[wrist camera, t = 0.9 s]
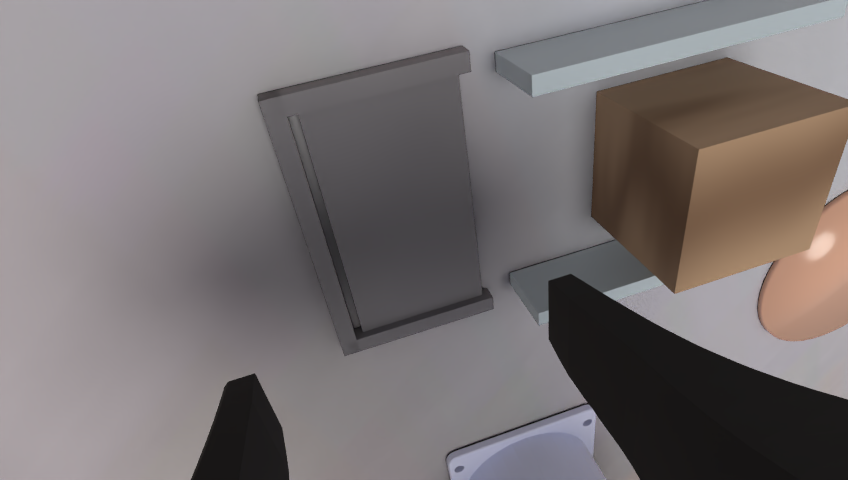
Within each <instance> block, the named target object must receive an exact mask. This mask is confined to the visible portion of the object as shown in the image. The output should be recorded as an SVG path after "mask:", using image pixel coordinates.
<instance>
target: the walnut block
mask: <svg viewBox="0 0 848 480" xmlns="http://www.w3.org/2000/svg"><path fill="white" fill-rule="evenodd" d="M847 139H848V99H845V98H843V97H840V96H837V95H834V94H831V93H828V92H825V91H822V90H819V89H817V88H814V87H811V86H808V85H805V84H802V83H799V82H796V81H793V80H791V79H788V78H785V77H782V76H779V75H776V74H773V73H770V72H768V71H765V70H762V69H759V68H756V67H753V66H750V65H747V64H744V63H742V62H739V61H736V60H733V59H730V58H723V59H719V60H715V61H712V62H708V63H704V64H700V65H696V66H692V67H689V68H685V69H681V70H677V71H673V72H669V73H666V74H662V75H658V76H654V77H650V78H646V79H643V80H639V81H635V82H631V83H627V84H623V85H620V86H616V87H612V88H608V89H604V90H600V91H597V96H596V119H595V142H594V165H593V187H592V210H591V217H592V218H594V219H595V220H596V221H597V222H598V223H599V224H600V225H601V226H602V227H603V228H604V229H605V230H606V231H608V232H609V233H610V234H611V235H612V236H613V237H614V238H615V239H616V240H617V241H618V242H619V243H620V244H621V245H623V246H624V247H625V248H626V249H627V250H628V251H629V252H630V253H631V254H632V255H633V256H634V257H635V258H637V259H638V260H639V261H640V262H641V263H642V264H643V265H644V266H645V267H646V268H647V269H648V270H649V271H650V272H652V273H653V274H654V275H655V276H656V277H657V278H658V279H659V280H660V281H661V282H662V283H663V284H664V285H666V286H667V287H668V288H669V289H670V290H671V291H672V292H673V293H674V294H676V293H679V292H682V291H685V290H688V289H691V288H694V287H697V286H700V285H703V284H706V283H709V282H712V281H715V280H718V279H721V278H724V277H727V276H730V275H733V274H736V273H739V272H742V271H745V270H748V269H751V268H754V267H757V266H760V265H763V264H766V263H769V262H772V261H775V260H778V259H781V258H784V257H788V256H791V255H794V254H797V253H800V252H803V251H806V250H809V249H810V246H811V244H812V241H813V238H814V235H815V232H816V229H817V226H818V223H819V220H820V217H821V214H822V211H823V209H824V206H825V203H826V200H827V197H828V194H829V191H830V188H831V185H832V182H833V179H834V177H835V174H836V171H837V168H838V165H839V162H840V159H841V156H842V153H843V150H844V147H845V144H846V142H847Z"/></svg>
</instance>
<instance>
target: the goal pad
mask: <svg viewBox="0 0 848 480" xmlns="http://www.w3.org/2000/svg"><path fill="white" fill-rule="evenodd" d="M758 314H759V319H760V321H761V324H762V325H763V327H764V328H765V329H766V330H767V331H768V332H770V333H771V334H772V335H773V336H774V337H777V338H779V339H781V340H786V341H803V340H808V339H813V338H816V337H819V336H822V335H825V334H827V333H830V332H832V331H834V330H836V329H838V328H840V327H842V326H844V325H846V324H847V323H848V191H847V192H845V193H843V194H842V195H840V196H839V197H837V198H836V199H834V200H833V201H831V202H830V203H829V204H827V205H826V206H825V207H824V209H823V211H822V214H821V217H820V220H819V223H818V226H817V229H816V232H815V235H814V238H813V241H812V244H811V246H810V249H809V250H806V251H803V252H800V253H797V254H794V255H791V256H788V257H784V258H781V259H778V260H775V261H774V263H773V265H772V266H771V268H770V270H769V272H768V274H767V276H766V278H765V280H764V283H763V286H762V288H761V291H760V296H759V300H758Z"/></svg>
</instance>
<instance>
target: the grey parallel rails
mask: <svg viewBox="0 0 848 480" xmlns="http://www.w3.org/2000/svg"><path fill="white" fill-rule="evenodd" d="M847 3H848V0H708V1H704V2H699V3H695V4H691V5H687V6H683V7H679V8H675V9H671V10H666V11H662V12H658V13H654V14H650V15H646V16H642V17H637V18H633V19H629V20H625V21H621V22H617V23H613V24H608V25H604V26H600V27H596V28H592V29H588V30H584V31H580V32H575V33H571V34H567V35H563V36H559V37H555V38H551V39H546V40H542V41H538V42H534V43H530V44H526V45H522V46H517V47H513V48H509V49H505V50H501V51H497V52H495V60H496V72H497V73H499V74H500V75H502V76H503V77H504V78H506V79H507V80H509V81H510V82H512V83H513V84H514V85H516V86H517V87H519V88H520V89H521V90H523V91H524V92H526V93H527V94H528V95H530V96H531V97H536V96H539V95H543V94H547V93H551V92H555V91H559V90H563V89H567V88H570V87H574V86H578V85H582V84H586V83H590V82H594V81H597V80H601V79H605V78H609V77H613V76H617V75H621V74H625V73H628V72H632V71H636V70H640V69H644V68H648V67H652V66H656V65H659V64H663V63H667V62H671V61H675V60H679V59H683V58H687V57H690V56H694V55H698V54H702V53H706V52H710V51H714V50H718V49H721V48H725V47H729V46H733V45H737V44H741V43H745V42H749V41H752V40H756V39H760V38H764V37H768V36H772V35H776V34H780V33H783V32H787V31H791V30H795V29H799V28H803V27H807V26H811V25H814V24H818V23H822V22H826V21H830V20H834V19H838V18H842V17H844V13H845V10H846V7H847ZM568 274H572V275H574V276H576V277H577V278H579V279H581V280H582V281H584V282H585V283H587V284H589V285H590V286H592V287H594V288H595V289H597V290H598V291H600V292H602V293H603V294H605V295H607V296H608V297H610V298H612V299H613V300H615V301H616V300H619V299H622V298H625V297H628V296H631V295H634V294H637V293H640V292H643V291H646V290H649V289H652V288H655V287H658V286H661V285H664V284H663V283H662V282H661V281H660V280H659V279H658V278H657V277H656V276H655V275H654V274H653V273H652V272H650V271H649V270H648V269H647V268H646V267H645V266H644V265H643V264H642V263H641V262H640V261H639V260H638V259H637V258H635V257H634V256H633V255H632V254H631V253H630V252H629V251H628V250H627V249H626V248H625V247H624V246H623V245H621V244H620V243H619V242H618V241H617V240H615V241H611V242H608V243H605V244H602V245H599V246H595V247H592V248H589V249H586V250H582V251H579V252H576V253H573V254H569V255H566V256H563V257H560V258H556V259H553V260H550V261H547V262H543V263H540V264H537V265H534V266H531V267H527V268H524V269H521V270H518V271H514V272H511V273H510V282H511V286H512V287H513V289H514V290H515V292H516V293H517V294H518V296H519V297H520V299H521V300H522V302H523V303H524V305H525V306H526V307H527V309H528V310H529V312H530V313H531V315H532V316H533V318H534V319H535V321H536V322H537V323H538V325H542V324H545V323H548V322H549V310H548V281H549V280H552V279H555V278H559V277H562V276H565V275H568Z"/></svg>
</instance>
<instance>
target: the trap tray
mask: <svg viewBox="0 0 848 480" xmlns="http://www.w3.org/2000/svg"><path fill="white" fill-rule="evenodd" d="M468 72H471V64H470V53H469V50H467V49H466V48H465V47H463V46H459V47H455V48H451V49H447V50H443V51H438V52H434V53H430V54H426V55H422V56H417V57H413V58H409V59H405V60H401V61H396V62H392V63H388V64H384V65H380V66H375V67H371V68H367V69H363V70H358V71H354V72H350V73H346V74H342V75H337V76H333V77H329V78H325V79H321V80H316V81H312V82H308V83H304V84H300V85H295V86H291V87H287V88H283V89H279V90H274V91H270V92H266V93H262V94H258V102H259V105H260V108H261V111H262V114H263V117H264V120H265V123H266V126H267V129H268V132H269V135H270V138H271V140H272V143H273V146H274V149H275V152H276V155H277V158H278V161H279V164H280V167H281V170H282V173H283V176H284V179H285V182H286V185H287V188H288V191H289V194H290V197H291V199H292V202H293V205H294V208H295V211H296V214H297V217H298V220H299V223H300V226H301V229H302V232H303V235H304V238H305V241H306V244H307V247H308V250H309V253H310V256H311V258H312V261H313V264H314V267H315V270H316V273H317V276H318V279H319V282H320V285H321V288H322V291H323V294H324V297H325V300H326V303H327V306H328V309H329V312H330V315H331V317H332V320H333V323H334V326H335V329H336V332H337V335H338V338H339V341H340V344H341V347H342V350H343V353H344V356H347V355H350V354H353V353H356V352H359V351H362V350H365V349H369V348H372V347H375V346H378V345H381V344H384V343H387V342H391V341H394V340H397V339H400V338H403V337H406V336H409V335H413V334H416V333H419V332H422V331H425V330H428V329H431V328H435V327H438V326H441V325H444V324H447V323H450V322H453V321H457V320H460V319H463V318H466V317H469V316H472V315H475V314H479V313H482V312H485V311H488V310H491V309H494V306H493V297H492V295H491V294H490V292H489V291H488V289H487V288H485V289H482V286H481V276H480V267H479V258H478V249H477V240H476V231H475V221H474V212H473V203H472V194H471V185H470V176H469V166H468V157H467V148H466V139H465V130H464V121H463V111H462V102H461V93H460V84H459V75H460V74H464V73H468ZM297 114H298V116H299V120H300V123H301V126H302V130H303V133H304V136H305V140H306V143H307V146H308V150H309V153H310V156H311V160H312V163H313V166H314V170H315V173H316V177H317V180H318V183H319V187H320V190H321V193H322V197H323V200H324V203H325V207H326V210H327V213H328V217H329V220H330V223H331V227H332V230H333V233H334V237H335V240H336V244H337V247H338V250H339V254H340V257H341V260H342V264H343V267H344V270H345V274H346V277H347V280H348V284H349V287H350V290H351V294H352V297H353V300H354V304H355V307H356V311H357V314H358V317H359V321H360V324H361V327H360V328H357V329H354V328H353V325H352V322H351V319H350V315H349V312H348V309H347V306H346V303H345V299H344V296H343V293H342V290H341V287H340V283H339V280H338V277H337V274H336V270H335V267H334V264H333V261H332V258H331V254H330V251H329V248H328V245H327V242H326V238H325V235H324V232H323V229H322V225H321V222H320V219H319V216H318V213H317V209H316V206H315V203H314V200H313V197H312V193H311V190H310V187H309V184H308V180H307V177H306V174H305V171H304V168H303V164H302V161H301V158H300V155H299V152H298V148H297V145H296V142H295V139H294V135H293V132H292V129H291V126H290V123H289V119H288V117H289V116H293V115H297Z"/></svg>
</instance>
